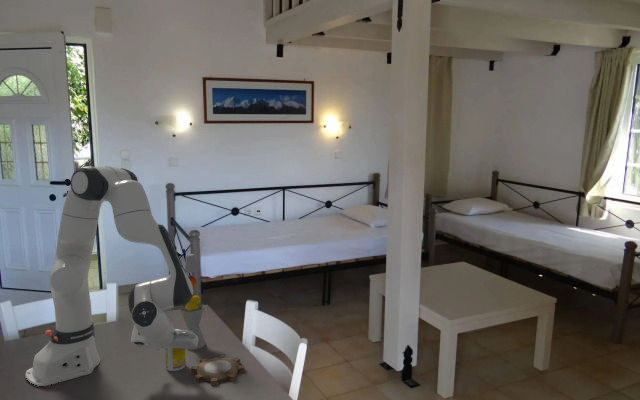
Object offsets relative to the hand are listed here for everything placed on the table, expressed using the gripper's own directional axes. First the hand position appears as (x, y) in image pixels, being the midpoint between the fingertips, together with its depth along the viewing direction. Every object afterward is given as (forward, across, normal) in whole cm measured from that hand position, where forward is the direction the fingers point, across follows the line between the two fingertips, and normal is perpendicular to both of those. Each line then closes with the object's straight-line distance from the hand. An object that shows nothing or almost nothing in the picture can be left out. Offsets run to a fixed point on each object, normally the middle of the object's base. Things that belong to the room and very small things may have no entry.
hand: (171, 347), depth 166 cm
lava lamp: (+21, -1, -8) cm, 23 cm away
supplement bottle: (+9, 0, +4) cm, 10 cm away
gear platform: (+7, -15, +5) cm, 17 cm away
